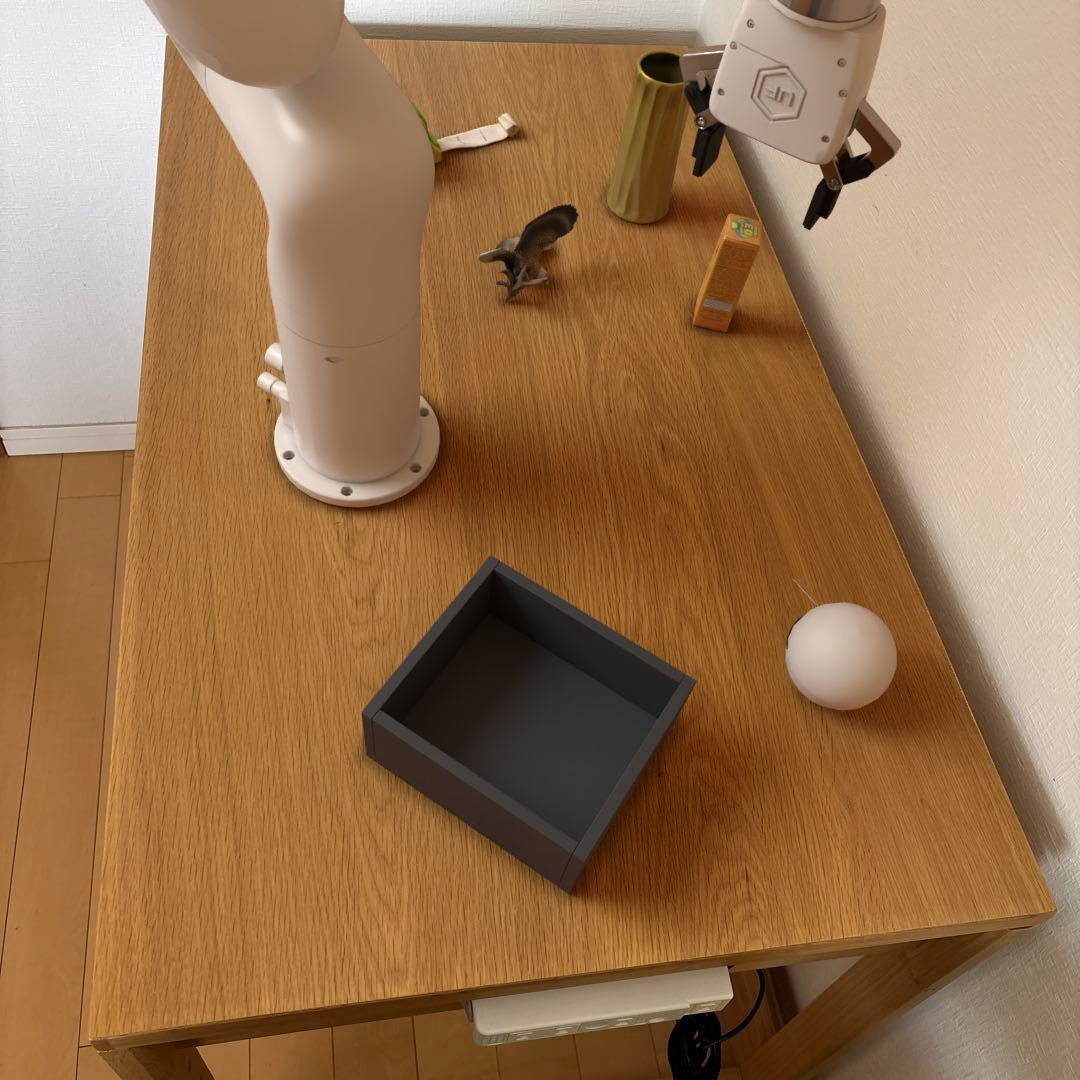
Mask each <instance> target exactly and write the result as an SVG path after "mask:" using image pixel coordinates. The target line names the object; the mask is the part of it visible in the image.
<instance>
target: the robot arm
mask: <svg viewBox="0 0 1080 1080" xmlns="http://www.w3.org/2000/svg"><path fill="white" fill-rule="evenodd" d="M143 2H144V4H145V5H146V7H148V9H149V10H150V11H151V14H152V15H153V16H154V18H155V19H156V20H157V21H158V23H159V24H160V25H161V27H162V29H163V30H164V31H165V33H166V35H167V36H168V37H169V39H170V40H171V42H172V43H173V45H174V47H175V48H176V50H177V51H178V53H179V55H180V56H181V57H182V59H183V61H184V62H185V64H186V65H187V67H188V68H189V70H190V72H191V73H192V74H193V76H194V78H195V79H196V81H197V83H198V84H199V86H200V87H201V89H202V91H203V92H204V94H205V95H206V97H207V99H208V100H209V102H210V104H211V105H212V107H213V109H214V110H215V112H216V114H217V116H218V118H219V119H220V120H221V122H222V124H223V125H224V127H225V129H226V130H227V132H228V134H229V135H230V138H231V139H232V141H233V142H234V144H235V147H236V149H237V150H238V152H239V154H240V156H241V157H242V159H243V161H244V162H245V164H246V166H247V168H248V169H249V171H250V173H251V175H252V176H253V178H254V181H255V183H256V185H257V187H258V189H259V191H260V194H261V197H262V200H263V203H264V206H265V210H266V213H267V214H266V215H267V219H268V225H269V229H268V238H267V245H266V268H267V269H266V270H267V278H268V284H269V291H270V297H271V303H272V307H273V311H274V317H275V323H276V331H277V336H278V341H277V342H273V343H272V344H270V345H269V347H268V348H267V350H266V351H265V354H264V362H265V364H266V365H267V366H269V367H271V368H273V369H275V370H276V371H278V372H280V373H281V374H283V375H284V380H285V382H284V381H282V380H281V379H280V378H279V377H277V376H275V374H272V373H271V372H268V371H263V372H262V373H261V374H260V375H259V377H258V378H257V381H256V386H257V387H258V388H259V389H260V390H262V391H264V392H266V393H267V394H268V395H271V396H274V397H275V398H277V399H278V402H279V404H280V410H281V411H280V413H279V415H278V417H277V419H276V424H275V427H274V432H273V434H274V435H273V436H274V437H273V438H274V439H273V441H274V442H273V445H274V449H275V455H276V459H277V461H278V463H279V466H280V468H281V471H282V472H283V473H284V475H285V476H286V478H287V479H288V480H289V481H290V482H291V483H292V484H293V485H294V486H295V487H296V489H298V490H299V491H301V492H302V493H304V494H306V495H307V496H309V497H310V498H312V499H314V500H318V501H320V502H322V503H325V504H329V505H334V506H337V507H338V506H339V507H345V508H366V507H376V506H379V505H383V504H387V503H390V502H393V501H395V500H397V499H400V498H402V497H404V496H406V495H407V494H409V493H410V492H412V491H414V490H415V489H416V488H418V487H419V486H420V485H421V484H422V483H423V482H424V481H425V480H426V478H427V477H428V476H429V474H430V473H431V472H432V470H433V468H434V467H435V464H436V462H437V459H438V457H439V451H440V444H441V437H440V436H441V434H440V426H439V421H438V418H437V416H436V413H435V411H434V410H433V408H432V406H431V405H430V404H429V402H428V401H427V400H426V398H425V397H424V396H422V395H421V259H422V258H421V257H422V256H421V255H422V244H423V237H424V232H425V231H424V230H425V225H426V222H427V217H428V215H429V214H428V213H429V209H430V205H431V202H432V197H433V194H434V193H433V192H434V188H435V187H434V186H435V175H436V173H435V172H436V171H435V169H436V167H435V163H434V157H433V152H432V148H431V144H430V141H429V138H428V136H427V133H426V131H425V128H424V126H423V124H422V122H421V120H420V118H419V116H418V114H417V112H416V111H415V109H414V107H413V106H412V104H411V102H410V101H409V99H410V98H409V97H408V96H407V94H406V93H405V92H404V90H403V89H402V87H401V85H399V83H398V82H397V80H396V79H395V78H394V76H393V75H392V74H391V73H390V71H389V70H388V68H387V67H386V66H385V64H384V63H383V62H382V61H381V59H380V58H379V57H378V56H377V54H376V52H374V51H373V50H372V48H371V47H370V46H369V45H368V44H367V43H366V41H365V40H364V39H363V37H362V36H361V35H360V34H359V32H358V31H357V30H356V28H355V26H354V25H353V24H352V23H351V21H350V20H349V19H348V17H347V16H346V14H345V6H346V5H345V3H346V0H143ZM886 17H887V9H886V7H885V5H884V4H882V0H743V1H742V4H741V6H740V8H739V10H738V13H737V16H736V18H735V21H734V23H733V26H732V27H731V28H732V29H731V31H730V34H729V37H728V40H727V42H726V43H725V44H715V45H706V46H696V47H689V48H688V49H687V50H686V51H684V53H682V54H683V55H682V56H681V57H680V58H679V65H680V69H681V74H682V78H683V82H685V89H684V94H685V96H686V98H687V100H688V102H689V104H690V109H691V110H692V112H693V114H694V119H693V123H694V126H695V127H696V128H697V130H696V131H697V132H696V136H695V139H694V144H693V148H692V152H691V158H694V159H695V161H694V164H693V169H692V173H691V174H692V176H693V177H696V178H702V177H703V176H704V175H705V174H706V173H707V171H708V170H710V168H711V167H712V166H713V165H714V164H715V163H716V162H717V160H718V158H719V154H720V151H721V149H722V148H721V147H722V144H723V140H724V137H725V132H726V129H727V127H728V128H729V129H732V130H734V131H736V132H738V133H740V134H742V135H744V136H747V137H748V138H750V139H752V140H755V141H757V142H760V143H761V144H763V145H765V146H768V147H770V148H772V149H774V150H777V151H779V152H781V153H783V154H785V155H788V156H790V157H792V158H794V159H796V160H798V161H801V162H804V163H807V164H810V165H816V166H819V169H820V171H821V174H822V179H820V181H819V182H818V183H817V185H816V187H815V190H814V192H813V194H812V197H811V199H810V202H809V205H808V208H807V210H806V213H805V216H804V219H803V221H802V226H803V228H804V229H806V230H807V231H811V230H812V229H813V227H814V226H815V225H816V223H817V222H818V221H819V220H820V218H822V219H824V220H828V218H829V217H830V216H831V214H832V213H833V211H834V209H835V207H836V204H837V202H838V200H839V197H840V195H841V193H842V189H843V188H844V186H846V185H849V184H852V183H856V182H859V181H862V180H865V179H868V178H869V177H870V176H871V175H872V174H873V173H874V172H876V171H877V170H879V169H880V168H882V167H883V166H884V165H885V164H887V163H888V162H889V161H891V160H892V159H893V158H895V156H896V154H898V152H899V151H900V150H901V148H902V141H901V140H900V138H899V137H898V136H897V135H896V134H895V132H894V131H893V130H892V129H891V127H889V125H888V124H887V123H886V122H885V121H884V119H883V118H882V117H881V116H880V115H879V114H878V112H877V111H876V110H875V109H874V108H873V106H871V104H870V103H869V102H868V101H867V98H868V94H869V92H870V88H871V84H872V82H873V78H874V74H875V70H876V67H877V63H878V59H879V55H880V51H881V47H882V46H881V45H882V42H883V36H884V31H885V24H886ZM708 70H717V72H716V76H715V78H714V82H713V85H712V86H711V84H710V82H709V81H708V78H707V77H706V76H705V74H706V73H705V72H706V71H708ZM407 97H408V98H409V99H408V98H407ZM855 130H856V131H857V133H859V135H860V136H861V138H862V139H864V141H865V142H866V143H867V144H868V145H869V147H870V150H869V151H867V152H864V153H862V154H858V155H854V153H853V150H852V147H851V144H850V142H849V139H848V138H850V137H851V136H852V135H853V133H854V131H855Z"/></svg>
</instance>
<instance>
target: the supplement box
mask: <svg viewBox="0 0 1080 1080" xmlns="http://www.w3.org/2000/svg"><path fill="white" fill-rule="evenodd" d="M763 231H764V222H762V221H760V220H757V219H754V218H750V217H746V216H742V215H738V214H735V213H728V214H727V217H726V220H725V222H724V225H723V228H722V230H721V233H720V235H719V238H718V241H717V243H716V245H715V249H714V250H713V254H712V256H711V258H710V259H711V260H710V262H709V263H708V268H707V270H706V273H705V275H704V279H703V281H702V283H701V287H700V289H699V293H698V295H697V298H696V302H695V306H694V313H693V319H692V324H693V326H696V327H699V328H703V329H708V330H713V331H718V332H722V333H726V332H727V331H728V329H729V325H730V323H731V320H732V318H733V316H734V313H735V310H736V308H737V305H738V303H739V300H740V298H741V295H742V293H743V291H744V288H745V285H746V283H747V280H748V278H749V276H750V272H751V270H752V267H753V265H754V263H755V260H756V257H757V255H758V252H759V250H760V248H761V246H762V240H763Z"/></svg>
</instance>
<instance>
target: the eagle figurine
mask: <svg viewBox="0 0 1080 1080" xmlns="http://www.w3.org/2000/svg"><path fill="white" fill-rule="evenodd" d="M577 211H578V209H577V208H576V207H575V205H572V203H569V204H567V203H565V204H560V205H556V206H553V207H552V208H549V209H548V210H547V211H545V212H543V213H542V214H540V215H537V216H536V217H535V218H533V219H532V220H531V221H529V222H528V223H527V224H526V225H525V226H524V227H523V229H522V232H521V233H520V235H519V236H516V237H509V238H506V239H503V240H501V241H500V242H499V243H498V244H497V245H496V247H495V248H494V249H491V250H489V251H485V252H483V253H480V254H479V255H478V257H477V260H478V261H479V262H481V263H483V264H489V263H493V262H502V263H504V265H505V268H504V269H503V268H502V269H499V270H498V271H499V274H504V275H506V281H504V280H496V281H494V284H495V285H496V286H503V287H504V288H506V294H505V297H504V302H505V303H509V301H510V300H511V299H513V297H516V296H517V295H518V294H519V293H520V291H521V290H524V289H525V288H528V287H535V286H543V285H546V286H548V285H549V283H550V282H549V280H550V279H549V277H548V276H549V274H548V272H547V271H546V270H545V269H544V267H542V266H541V264H540V261H539V258H540V255H541V254H542V252H544V251H550V250H552V247H551V245H553V244H555V243H556V242H557V240H558V239H560V238H563V237H565V236H566V235H568V234H569V233H570V232H572V231H573V230H574V227H575V224H576V223H577V220H578V218H579V216H580V214H579V212H577ZM529 276H530V277H534V278H536V279H531V278H530V277H529Z"/></svg>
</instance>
